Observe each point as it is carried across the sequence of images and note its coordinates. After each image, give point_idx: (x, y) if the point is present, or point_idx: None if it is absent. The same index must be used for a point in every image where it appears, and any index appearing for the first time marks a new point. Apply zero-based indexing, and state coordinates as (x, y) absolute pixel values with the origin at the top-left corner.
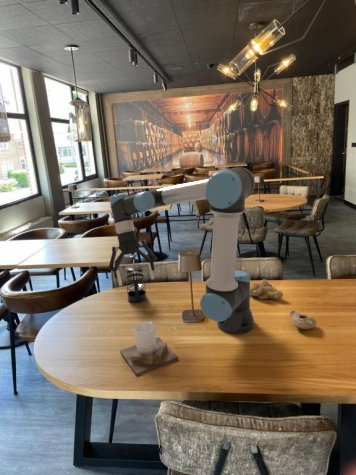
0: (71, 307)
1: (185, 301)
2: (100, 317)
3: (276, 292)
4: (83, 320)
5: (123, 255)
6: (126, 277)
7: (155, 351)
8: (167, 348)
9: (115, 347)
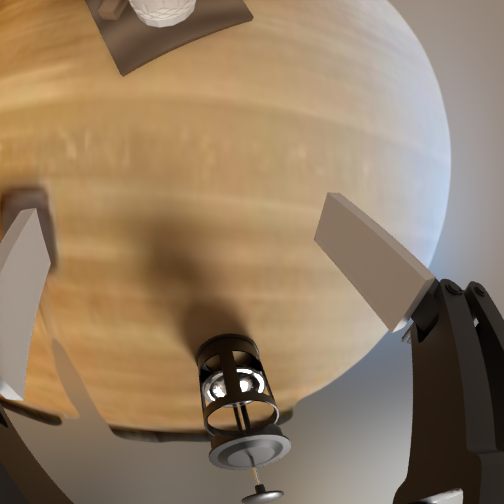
0: None
1: (66, 328)
2: None
3: None
4: None
5: (455, 480)
6: (276, 416)
7: None
8: (101, 20)
9: (271, 48)
